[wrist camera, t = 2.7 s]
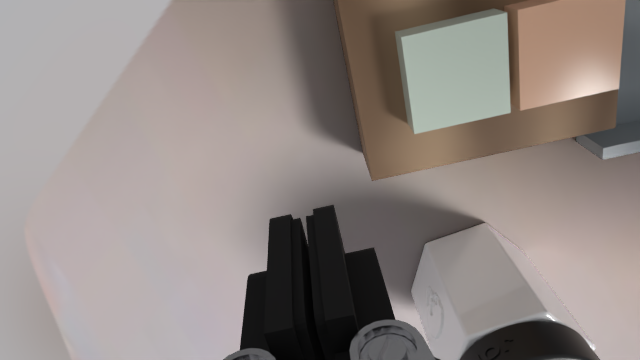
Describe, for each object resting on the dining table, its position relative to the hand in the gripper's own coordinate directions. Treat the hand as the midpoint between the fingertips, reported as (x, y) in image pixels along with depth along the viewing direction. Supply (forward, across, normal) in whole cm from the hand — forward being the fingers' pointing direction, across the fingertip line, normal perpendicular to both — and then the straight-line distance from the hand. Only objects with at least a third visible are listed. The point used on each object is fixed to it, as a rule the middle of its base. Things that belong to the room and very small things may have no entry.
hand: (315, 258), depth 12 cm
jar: (+18, -9, +17) cm, 27 cm away
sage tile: (+14, -8, 0) cm, 16 cm away
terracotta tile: (+14, -13, 0) cm, 19 cm away
